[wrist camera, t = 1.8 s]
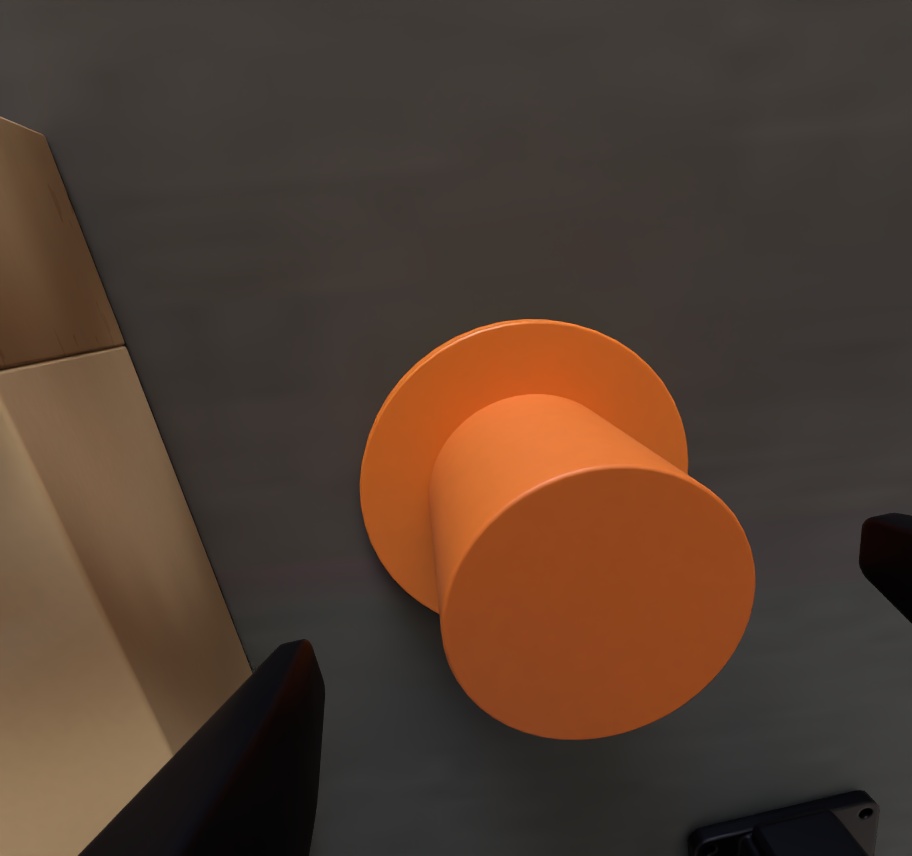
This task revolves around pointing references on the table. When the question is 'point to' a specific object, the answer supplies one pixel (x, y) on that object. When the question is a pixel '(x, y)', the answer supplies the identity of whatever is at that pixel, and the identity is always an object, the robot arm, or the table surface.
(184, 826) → the robot arm
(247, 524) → the table surface
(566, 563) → the hat
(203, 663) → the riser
